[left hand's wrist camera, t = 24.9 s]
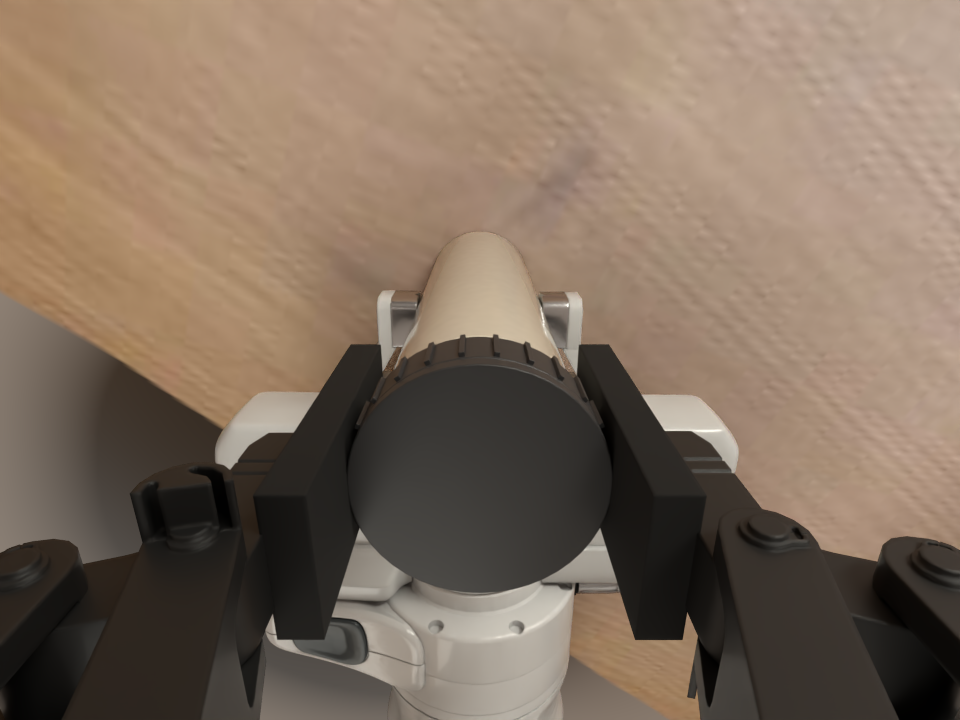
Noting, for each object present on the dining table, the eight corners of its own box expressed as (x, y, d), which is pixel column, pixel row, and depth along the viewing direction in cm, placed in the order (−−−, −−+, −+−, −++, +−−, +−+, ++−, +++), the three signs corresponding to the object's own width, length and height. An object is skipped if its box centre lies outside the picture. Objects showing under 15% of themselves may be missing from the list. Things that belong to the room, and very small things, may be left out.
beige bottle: (534, 314, 28) (606, 537, 12) (444, 332, 28) (398, 572, 12) (517, 222, 26) (575, 336, 10) (422, 242, 27) (337, 383, 11)
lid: (560, 565, 13) (570, 618, 12) (340, 520, 13) (322, 569, 11) (634, 366, 11) (657, 398, 10) (383, 305, 11) (368, 329, 9)
